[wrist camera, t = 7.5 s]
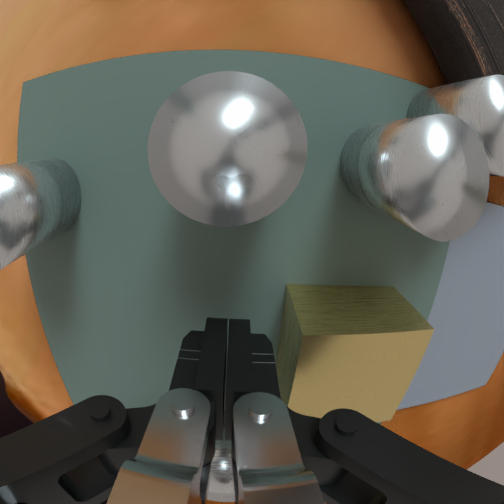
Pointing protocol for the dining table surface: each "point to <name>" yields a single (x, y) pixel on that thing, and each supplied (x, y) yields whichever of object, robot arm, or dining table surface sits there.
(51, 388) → the dining table surface
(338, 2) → the dining table surface
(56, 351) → the mat
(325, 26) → the dining table surface
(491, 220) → the felt pad
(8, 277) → the dining table surface
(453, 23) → the hardcover book
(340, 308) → the wood grain cube
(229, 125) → the aluminium spacers
